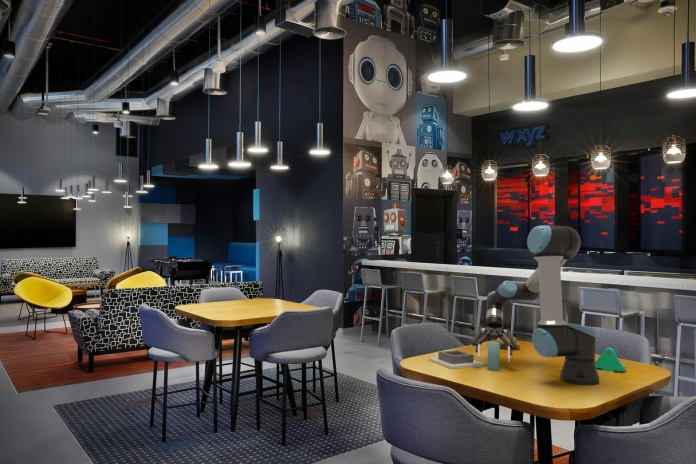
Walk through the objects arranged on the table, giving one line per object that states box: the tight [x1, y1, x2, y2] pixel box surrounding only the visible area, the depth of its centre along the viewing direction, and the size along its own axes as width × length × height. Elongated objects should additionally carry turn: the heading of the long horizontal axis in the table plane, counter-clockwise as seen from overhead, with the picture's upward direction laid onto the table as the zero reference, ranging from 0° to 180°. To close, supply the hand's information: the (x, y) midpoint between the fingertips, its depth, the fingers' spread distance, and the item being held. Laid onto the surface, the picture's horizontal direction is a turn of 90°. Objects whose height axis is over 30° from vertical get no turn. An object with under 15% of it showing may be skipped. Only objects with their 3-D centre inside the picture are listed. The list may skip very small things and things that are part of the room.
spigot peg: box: [487, 341, 501, 372], centre depth 244 cm, size 5×5×12 cm
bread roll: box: [495, 333, 521, 350], centre depth 294 cm, size 13×10×8 cm
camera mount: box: [595, 347, 626, 373], centre depth 248 cm, size 12×8×10 cm, turn 55°
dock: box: [428, 349, 485, 370], centre depth 255 cm, size 18×18×5 cm
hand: (493, 359), depth 241 cm, fingers open, 12 cm apart
